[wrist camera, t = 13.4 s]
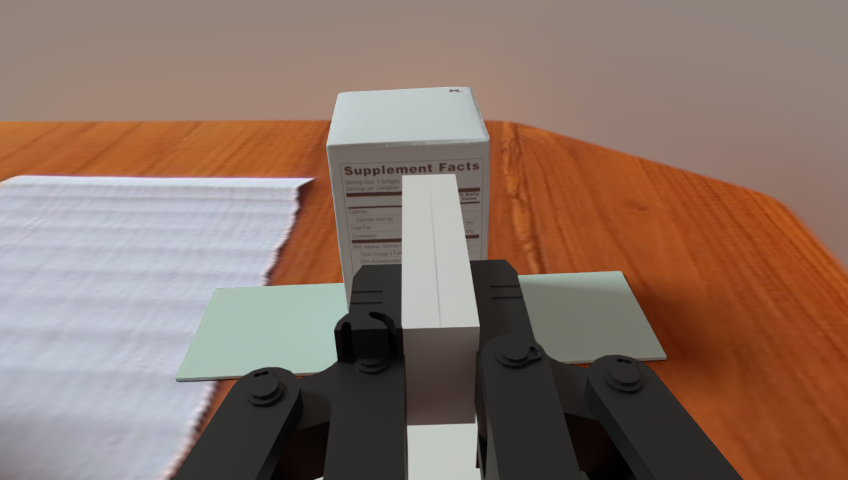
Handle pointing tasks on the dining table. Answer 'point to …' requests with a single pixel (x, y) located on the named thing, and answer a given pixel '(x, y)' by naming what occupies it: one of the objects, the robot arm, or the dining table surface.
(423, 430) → the t mat
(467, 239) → the supplement box
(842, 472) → the dining table surface
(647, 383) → the robot arm
